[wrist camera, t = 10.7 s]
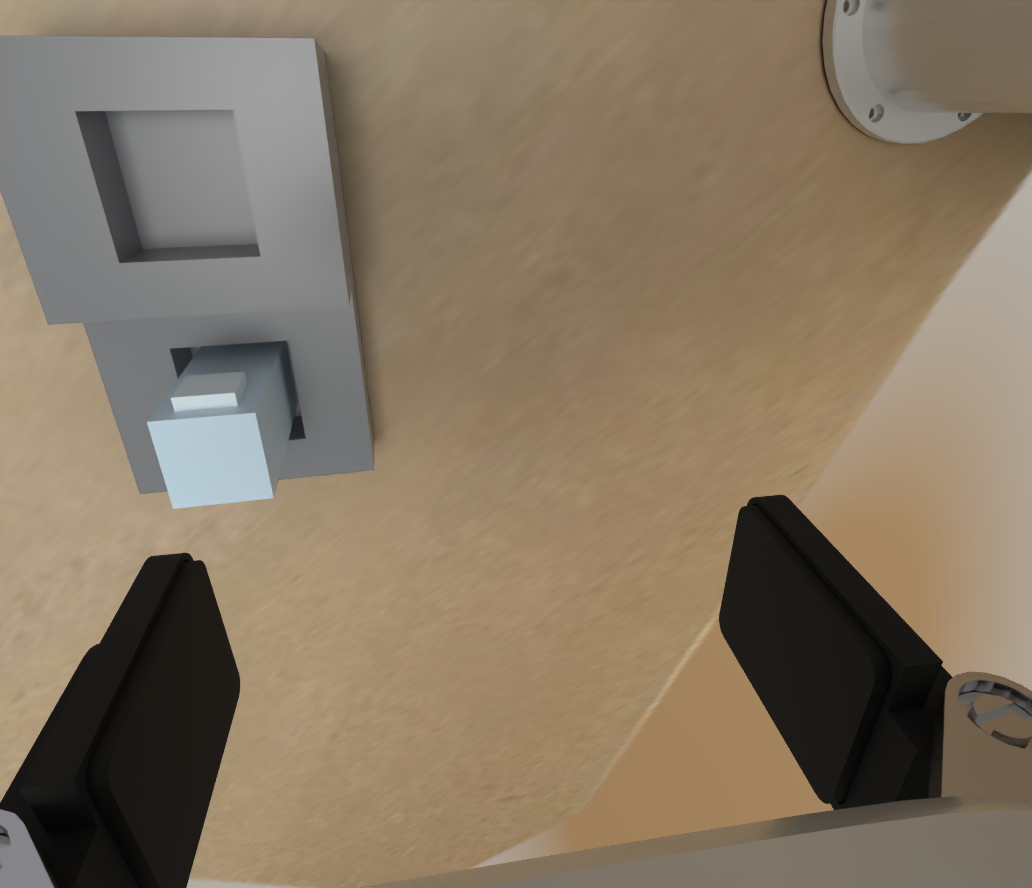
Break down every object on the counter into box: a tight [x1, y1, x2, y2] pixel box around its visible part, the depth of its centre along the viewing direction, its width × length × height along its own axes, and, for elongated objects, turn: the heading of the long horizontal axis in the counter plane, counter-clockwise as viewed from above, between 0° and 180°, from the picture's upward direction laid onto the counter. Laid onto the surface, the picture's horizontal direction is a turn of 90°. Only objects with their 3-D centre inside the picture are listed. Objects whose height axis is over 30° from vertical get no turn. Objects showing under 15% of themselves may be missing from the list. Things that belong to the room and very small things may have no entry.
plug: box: [147, 341, 297, 509], centre depth 30 cm, size 4×5×10 cm
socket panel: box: [0, 36, 374, 494], centre depth 30 cm, size 12×20×6 cm, turn 0°
